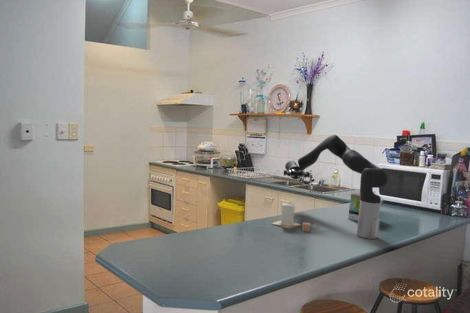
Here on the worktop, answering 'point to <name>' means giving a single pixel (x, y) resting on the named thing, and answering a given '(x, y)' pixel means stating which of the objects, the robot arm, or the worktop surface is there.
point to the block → (306, 226)
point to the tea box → (354, 206)
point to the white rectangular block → (287, 214)
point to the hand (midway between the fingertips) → (297, 175)
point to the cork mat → (286, 225)
